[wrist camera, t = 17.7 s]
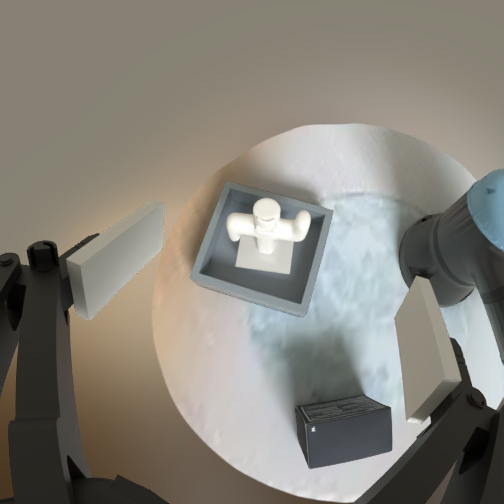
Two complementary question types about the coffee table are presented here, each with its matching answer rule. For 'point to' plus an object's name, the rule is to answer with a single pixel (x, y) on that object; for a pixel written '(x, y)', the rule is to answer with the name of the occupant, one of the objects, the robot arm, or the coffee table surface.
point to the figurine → (266, 236)
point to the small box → (343, 430)
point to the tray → (257, 281)
